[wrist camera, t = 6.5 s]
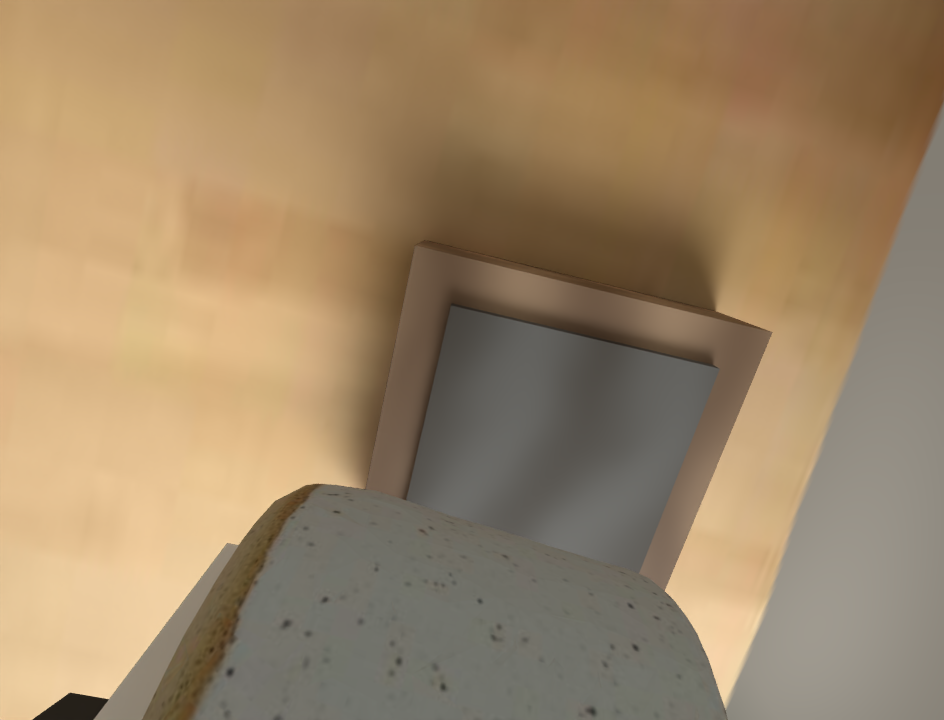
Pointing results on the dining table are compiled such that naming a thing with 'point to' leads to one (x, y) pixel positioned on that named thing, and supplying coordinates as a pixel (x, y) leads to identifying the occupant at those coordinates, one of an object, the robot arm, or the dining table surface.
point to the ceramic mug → (427, 626)
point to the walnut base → (559, 406)
